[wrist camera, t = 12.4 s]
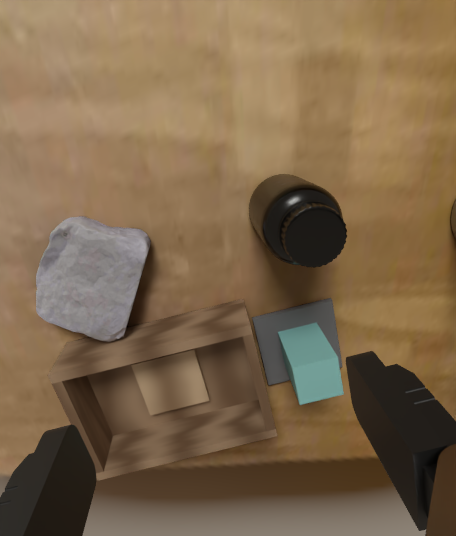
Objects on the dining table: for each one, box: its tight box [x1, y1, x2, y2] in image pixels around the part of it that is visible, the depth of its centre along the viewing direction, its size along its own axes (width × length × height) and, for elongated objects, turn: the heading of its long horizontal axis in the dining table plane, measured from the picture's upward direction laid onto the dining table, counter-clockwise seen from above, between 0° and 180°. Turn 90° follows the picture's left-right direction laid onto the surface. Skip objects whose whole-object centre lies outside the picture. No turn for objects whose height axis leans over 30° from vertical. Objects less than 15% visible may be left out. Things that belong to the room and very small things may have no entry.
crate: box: [48, 299, 277, 480], centre depth 43 cm, size 20×14×6 cm
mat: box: [252, 298, 342, 385], centre depth 46 cm, size 9×9×1 cm
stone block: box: [36, 216, 151, 342], centre depth 40 cm, size 12×5×10 cm
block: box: [278, 322, 344, 405], centre depth 42 cm, size 4×4×7 cm
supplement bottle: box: [249, 174, 347, 267], centre depth 35 cm, size 7×7×12 cm
